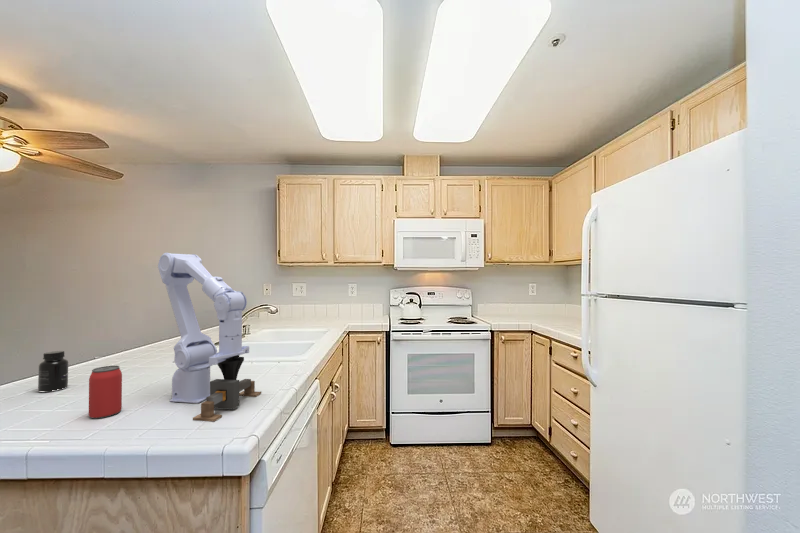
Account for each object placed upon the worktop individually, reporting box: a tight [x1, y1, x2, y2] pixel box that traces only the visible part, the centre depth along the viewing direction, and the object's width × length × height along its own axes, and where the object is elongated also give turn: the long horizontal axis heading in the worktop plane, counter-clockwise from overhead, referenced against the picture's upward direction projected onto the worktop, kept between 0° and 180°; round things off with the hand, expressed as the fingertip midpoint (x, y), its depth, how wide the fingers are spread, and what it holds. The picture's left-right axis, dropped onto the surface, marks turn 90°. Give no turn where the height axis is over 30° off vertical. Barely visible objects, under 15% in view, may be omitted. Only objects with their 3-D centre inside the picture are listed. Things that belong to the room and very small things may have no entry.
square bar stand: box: [192, 378, 262, 422], centre depth 95 cm, size 6×20×5 cm, turn 170°
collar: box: [210, 378, 240, 410], centre depth 93 cm, size 7×2×7 cm, turn 80°
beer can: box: [88, 365, 123, 419], centre depth 91 cm, size 7×7×12 cm
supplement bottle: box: [37, 350, 69, 392], centre depth 112 cm, size 7×7×12 cm
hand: (230, 384), depth 96 cm, fingers closed
